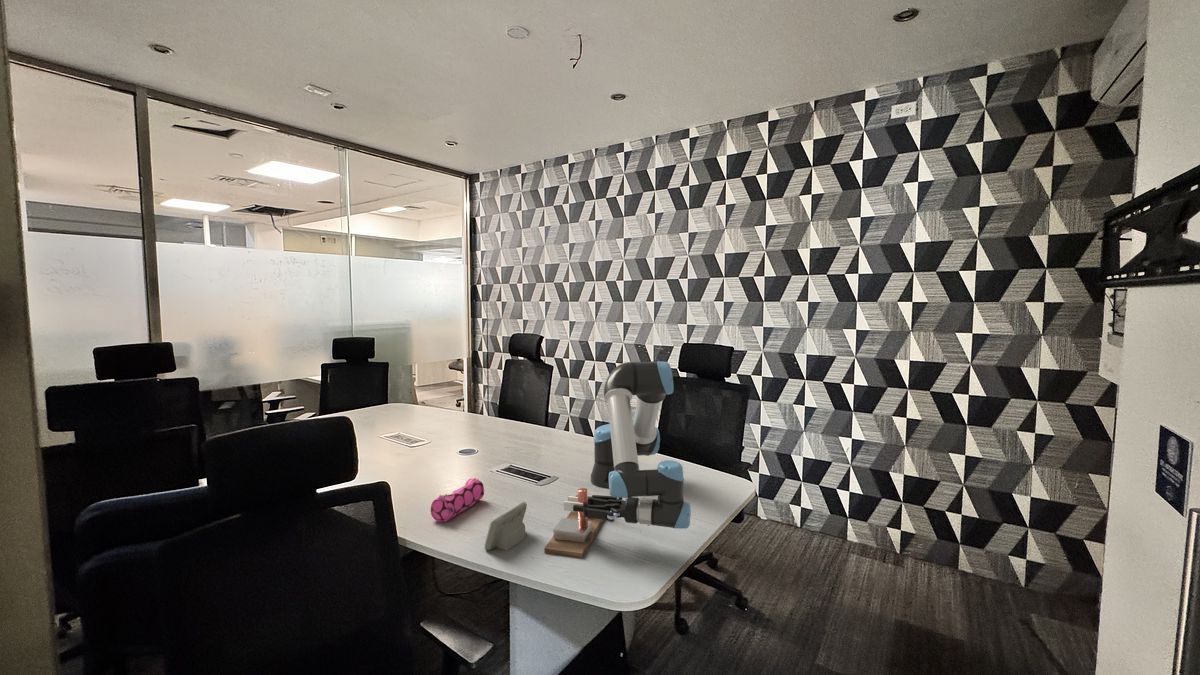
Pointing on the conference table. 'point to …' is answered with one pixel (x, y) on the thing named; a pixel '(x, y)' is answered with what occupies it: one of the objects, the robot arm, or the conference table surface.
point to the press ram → (574, 524)
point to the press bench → (570, 546)
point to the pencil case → (457, 500)
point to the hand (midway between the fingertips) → (566, 503)
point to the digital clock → (507, 528)
